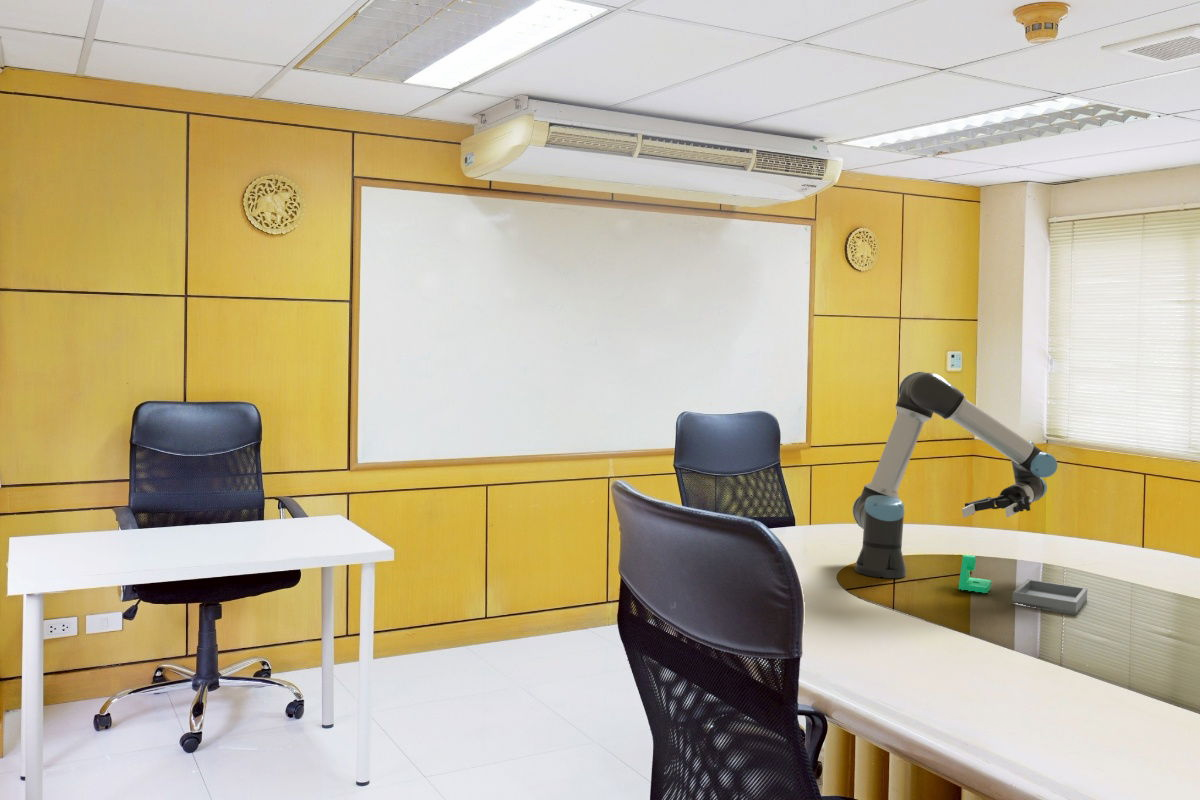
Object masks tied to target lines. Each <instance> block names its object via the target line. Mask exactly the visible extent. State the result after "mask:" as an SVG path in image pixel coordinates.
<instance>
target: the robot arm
mask: <svg viewBox="0 0 1200 800" xmlns="http://www.w3.org/2000/svg"><path fill="white" fill-rule="evenodd" d="M898 395H899V396H898V399H897V402H896V404H895V409H896V410H897V411H896V412H897V414H896V416H895V417H896V418H895V420H894V423H893V425H892V427H891V431H890V433H889V435H888V438H887V440H886V443H885V446H884V448H883V450H882V454H881V455H880V458H879V460H878V463H877V466H876V469H875V472H874V474H873V476H872V479H871V481H870V482H869V483H867V484H865V485H864V486H863V489H862V492H861V494H860V495H859V496H858V497H857V498H856V499H855V501H854V503H853V506H852V515H853V518H854V521H855V522H856V524H857V526H858V527H860V528H861V529H862V530H863V532H862V533H863V536H862V548H861V549H860V552H859V555H858V557H857V560H856V563H855V567H854V571H855V572H856V573H858V574H860V575H863V576H867V577H873V578H880V577H883V579H901V578H904V577H906V575H907V567H906V563H905V558H904V556H903V551H902V544H903V528H904V516H905V505H904V502H903V501H902V500H901V499H900V496H899V493H898V491H899V488H900V486H901V482H902V480H903V478H904V475H905V473H906V470H907V467H908V466H909V463H910V460H911V457H912V455H913V453H914V450H915V447H916V444H917V442H918V439H919V437H920V434H921V432H922V429H923V427H924V424H925V423H926V422H928V421H930V420H931V419H932V417H933V416H934V414H936V415H938V416H940V417H941V418H943V419H944V420H952V421H953V422H954V423H955V424H958V425H959V426H960V427H962V428H963V429H965V430H966V431H968V432H969V433H971V434H973V435H974V436H976V437H977V439H980V440H981V441H983V442H984V443H985V444H987V445H989V446H990V447H992V448H993V449H995V450H996V451H998V453H1001V454H1003V456H1005V457H1006V458H1008V459H1009V460H1011V461H1010V462H1011V466H1012V471H1013V477H1014V483H1013V484H1011V485H1010V486H1007V487H1005V488H1003V489H1002V491H1001V492H1000V493H999V495H998V496H994V497H990V496H987V497H986V498H982V499H978V500H973V501H969V502H965V503H964V507H963V508H961V512H962V517H963V518H968V517H969V516H972V515H974V514H976V512H979V511H985V510H999V509H1005V515H1006V518H1010V517H1012V516H1014V515H1016V514H1018V513H1019V512H1024V510H1025V511H1026V512H1029V511H1031V505H1032V503H1034V502H1037V501H1039V500H1041V498H1043V497H1044V496H1045V495H1046V493H1047V491H1048V485H1047V483H1046V481H1045V479H1044V478H1050V477H1052V476H1053V475H1054V474H1055V473H1056V471H1057V469H1058V461H1057V459H1056V458H1055V456H1054V455H1052V454H1050V453H1048V452H1045V451H1043V450H1042V449H1040V448H1039V447H1037V446H1035V443H1034V441H1032V440H1031V441H1030V440H1027V439H1025V438H1024V437H1023V436H1021V435H1020V434H1018V433H1017V432H1016V431H1013V430H1012V429H1011V428H1010V427H1008V426H1006V425H1005V424H1003V423H1001V422H1000V421H999V420H997V419H996V418H995V417H992V415H990V414H989V413H987V412H985V411H984V410H983V409H981V408H980V407H978V406H977V405H976V404H974V403H973V402H971V401H969V400H968V399H967V398H966V394H965V393H964V392H962V391H961V390H959V388H956V387H955V386H954V385H953V384H952V383H950V381H948V380H947V379H946V378H944V377H943V376H941V375H939V374H937V373H934V372H925V371H916V372H913V373H911V374H908V375H907V376H905V378H903V379H902V381H901V382H900V385H899V389H898ZM963 518H962V519H963Z"/></svg>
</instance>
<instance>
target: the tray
mask: <svg viewBox="0 0 1200 800" xmlns="http://www.w3.org/2000/svg"><path fill="white" fill-rule="evenodd" d="M1087 600H1088V588H1086V587H1080V586H1074V585H1068V584H1061V583H1056V582H1049V581H1048V582H1047V581H1042V580H1036V579H1029V578H1027V579H1026V580H1025V581H1024V582H1022V584H1021V585H1019V586H1018V587H1017V588H1016V589H1015V590H1014V591H1012V600H1011V603H1012V602H1013V603H1018V604H1023V605H1026V606H1030V607H1036V608H1039V609H1038V610H1041V609H1043V610H1042V611H1046V612H1048V611H1049V612H1054V613H1060V614H1065V615H1072V616H1076V615H1077V614H1078V613H1079V611H1080V610H1081V609H1082V607H1084V605H1085V603H1087ZM1077 612H1078V613H1077Z"/></svg>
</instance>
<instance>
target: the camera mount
mask: <svg viewBox="0 0 1200 800" xmlns="http://www.w3.org/2000/svg"><path fill="white" fill-rule="evenodd" d="M961 559H962V560H961V567H960V574H959V581H958V590H960V589H961V590H960V591H964V590H968V591H967V592H971V591H975V592H974V593H978V592H982V593H981V594H985V593H987V592H988V591H989V590H990V591H991V587H992V580H991V579H983V578H978V577H977V578H975V577H971V571H972V572H973V571H976V565H977V557H976V555H972V554H964V553H963V554H962V558H961Z"/></svg>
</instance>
